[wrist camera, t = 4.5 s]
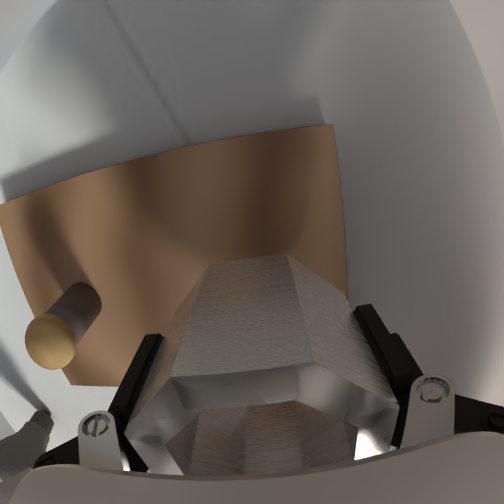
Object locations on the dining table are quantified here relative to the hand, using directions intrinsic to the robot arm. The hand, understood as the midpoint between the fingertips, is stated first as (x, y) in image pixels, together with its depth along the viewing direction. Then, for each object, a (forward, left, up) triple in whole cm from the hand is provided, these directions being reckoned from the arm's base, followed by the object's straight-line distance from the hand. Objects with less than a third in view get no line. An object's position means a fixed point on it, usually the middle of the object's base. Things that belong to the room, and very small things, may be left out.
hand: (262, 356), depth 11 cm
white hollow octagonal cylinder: (0, 0, -1) cm, 1 cm away
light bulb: (+23, +12, -7) cm, 27 cm away
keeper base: (+5, -1, -7) cm, 9 cm away
